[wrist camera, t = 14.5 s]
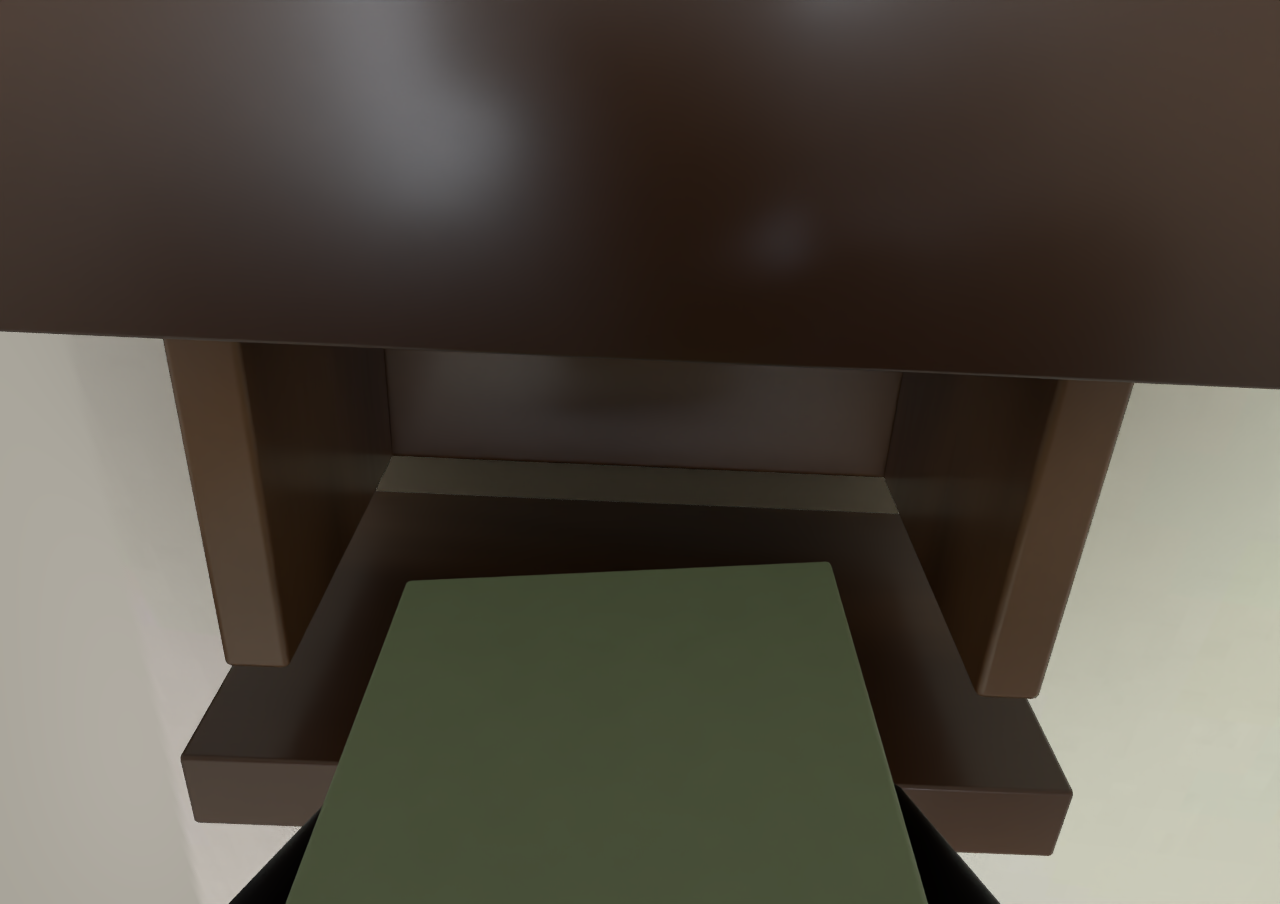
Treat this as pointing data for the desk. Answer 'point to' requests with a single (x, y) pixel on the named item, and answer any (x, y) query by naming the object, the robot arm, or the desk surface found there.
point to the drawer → (640, 540)
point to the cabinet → (657, 180)
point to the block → (615, 749)
